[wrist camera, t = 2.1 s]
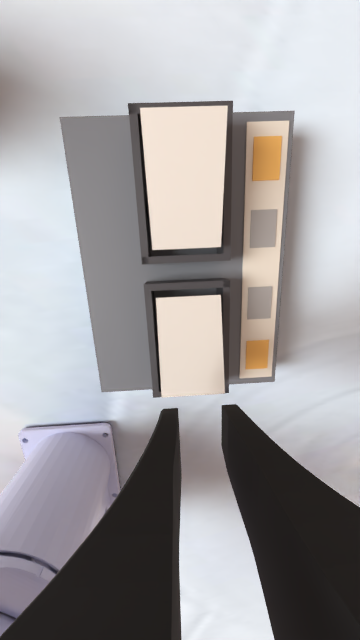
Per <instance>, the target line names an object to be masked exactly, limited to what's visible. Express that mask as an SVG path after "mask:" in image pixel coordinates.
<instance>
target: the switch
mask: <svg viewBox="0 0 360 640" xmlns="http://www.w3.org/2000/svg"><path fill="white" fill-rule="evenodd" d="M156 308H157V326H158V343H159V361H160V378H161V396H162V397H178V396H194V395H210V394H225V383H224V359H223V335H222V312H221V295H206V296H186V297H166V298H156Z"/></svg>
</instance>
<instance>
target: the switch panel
mask: <svg viewBox="0 0 360 640" xmlns="http://www.w3.org/2000/svg"><path fill="white" fill-rule="evenodd" d="M190 106H228V110H227V131H226V152H225V173H224V194H223V215H222V236H221V247H211V248H188V249H165V250H152V239H151V228H150V216H149V205H148V194H147V182H146V171H145V159H144V148H143V137H142V125H141V114H140V108H151V107H190ZM128 108H129V115H122V116H85V117H60V122H61V129H62V135H63V142H64V148H65V155H66V161H67V168H68V174H69V181H70V187H71V194H72V200H73V207H74V214H75V220H76V227H77V233H78V240H79V246H80V253H81V259H82V266H83V272H84V279H85V285H86V292H87V299H88V305H89V312H90V318H91V325H92V331H93V338H94V344H95V351H96V357H97V364H98V370H99V377H100V383H101V390H102V392H113V391H129V390H145V389H153V398H154V397H162V396H161V378H160V361H159V343H158V326H157V308H156V298H166V297H186V296H206V295H221V312H222V335H223V359H224V383H225V393H229V384H243V383H259V382H274V381H275V367H276V354H277V340H278V327H279V313H280V300H281V286H282V273H283V259H284V246H285V232H286V219H287V205H288V192H289V178H290V165H291V151H292V137H293V124H294V111H272V112H235V113H233V101H208V102H168V103H129V104H128Z"/></svg>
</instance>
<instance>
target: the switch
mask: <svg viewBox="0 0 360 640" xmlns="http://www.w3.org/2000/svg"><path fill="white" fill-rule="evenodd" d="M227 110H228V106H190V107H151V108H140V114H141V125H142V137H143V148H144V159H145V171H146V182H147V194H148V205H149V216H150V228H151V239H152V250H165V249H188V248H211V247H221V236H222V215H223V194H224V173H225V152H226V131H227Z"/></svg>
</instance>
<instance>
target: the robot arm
mask: <svg viewBox="0 0 360 640" xmlns="http://www.w3.org/2000/svg"><path fill="white" fill-rule="evenodd" d="M104 433H107V434H104ZM18 436H19V440H20V444H21V447H22V451H23V454H24V458H25V461H24V463H23V464H22V466H21V467H20V468H19V470H18V471H17V472H16V474H15V475H14V477H13V478H12V479H11V481H10V482H9V483H8V485H7V486H6V487H5V489H4V490H3V492H2V493H1V494H0V640H181V615H180V583H179V530H180V501H181V458H180V439H179V420H178V408H172V409H163V410H162V411H161V413H160V417H159V420H158V422H157V425H156V427H155V430H154V432H153V434H152V436H151V438H150V441H149V443H148V445H147V447H146V449H145V451H144V453H143V454H142V456H141V458H140V460H139V462H138V463H137V465H136V467H135V469H134V471H133V472H132V474H131V476H130V477H129V479H128V480H127V482H126V484H125V485H124V487H123V488H122V490H120V483H119V476H118V470H117V463H116V456H115V449H114V442H113V436H112V429H111V425H110V424H108V423H96V424H81V425H65V426H50V427H35V428H24V429H22V430H21V431H20V432H19V434H18ZM222 449H223V454H224V459H225V463H226V468H227V472H228V475H229V478H230V482H231V485H232V488H233V491H234V494H235V497H236V500H237V503H238V506H239V509H240V512H241V515H242V519H243V522H244V525H245V528H246V531H247V534H248V537H249V540H250V544H251V547H252V550H253V554H254V557H255V561H256V565H257V569H258V573H259V577H260V581H261V585H262V589H263V594H264V598H265V602H266V606H267V610H268V614H269V618H270V623H271V627H272V631H273V635H274V639H275V640H360V507H358V506H357V505H355V504H354V503H352V502H351V501H349V500H348V499H346V498H345V497H343V496H342V495H340V494H339V493H337V492H336V491H335V490H333V489H332V488H330V487H329V486H328V485H326V484H325V483H324V482H322V481H321V480H320V479H318V478H317V477H316V476H314V475H313V474H312V473H310V472H309V471H308V470H306V469H305V468H304V467H303V466H301V465H300V464H299V463H298V462H296V461H295V460H294V459H293V458H292V457H291V456H289V455H288V454H287V453H286V452H285V451H284V450H283V449H281V448H280V447H279V446H278V445H277V444H276V443H275V442H274V441H273V440H272V439H271V438H269V437H268V436H267V435H266V434H265V433H264V432H263V431H262V430H261V429H260V428H259V427H258V426H257V425H256V424H255V423H254V422H253V421H252V420H251V419H250V418H249V417H248V416H247V415H246V414H245V413H244V412H243V411H242V410H241V409H240V408H239V407H238V406H237V405H236V404H234V405H222Z"/></svg>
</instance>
